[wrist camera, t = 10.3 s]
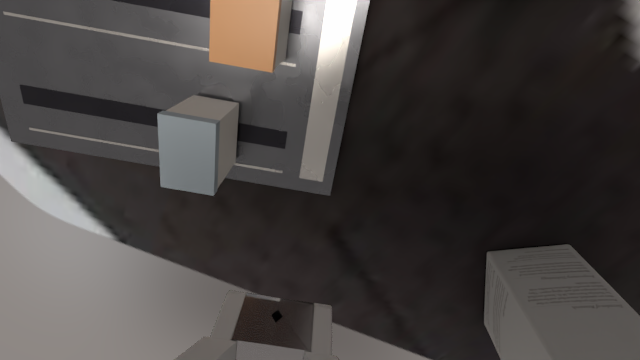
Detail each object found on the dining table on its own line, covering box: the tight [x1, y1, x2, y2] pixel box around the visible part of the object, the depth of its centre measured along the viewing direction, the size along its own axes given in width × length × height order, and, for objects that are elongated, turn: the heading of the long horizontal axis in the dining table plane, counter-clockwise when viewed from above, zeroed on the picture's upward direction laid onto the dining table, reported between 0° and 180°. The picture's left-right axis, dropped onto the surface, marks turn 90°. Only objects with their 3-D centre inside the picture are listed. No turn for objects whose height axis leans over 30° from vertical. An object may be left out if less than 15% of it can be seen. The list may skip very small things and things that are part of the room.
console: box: [0, 0, 370, 196], centre depth 21 cm, size 22×14×2 cm, turn 81°
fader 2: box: [209, 0, 292, 73], centre depth 17 cm, size 3×4×4 cm
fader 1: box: [157, 95, 239, 196], centre depth 20 cm, size 3×4×4 cm
